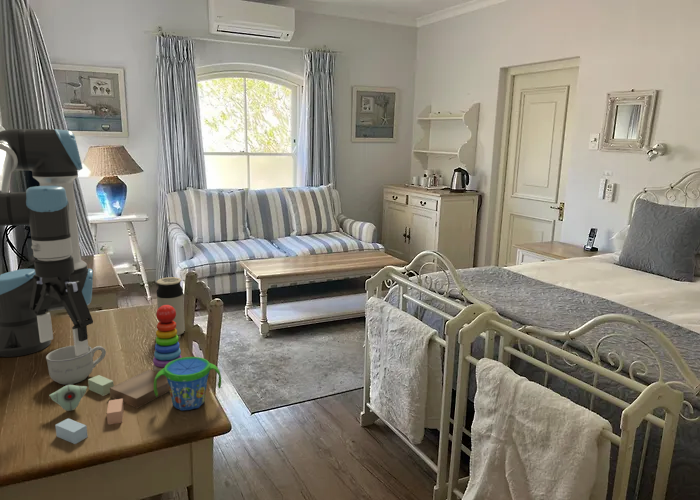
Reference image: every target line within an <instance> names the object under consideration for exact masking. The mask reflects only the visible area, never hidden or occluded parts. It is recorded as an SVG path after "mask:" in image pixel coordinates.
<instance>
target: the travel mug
mask: <svg viewBox="0 0 700 500" xmlns="http://www.w3.org/2000/svg"><path fill="white" fill-rule="evenodd" d="M181 282H182V279H181V278H179V277H176V276H174V277H172V276H169V277H162V278H159V279H158V280H156V284H157V286H158V287H157V290H156V300H157V301H156V302H157V303H156V304H157V310H158V309H159V308H160V307H161V306H163V305H170V306H172V307H173V308H174V309H175V311H176V317H175V319H174V320H173V321H174V322H176V328H175V329H176V330H177V334H176V335H177V336H178V337H179V336H180V335H182V334H184V333H185V332H184V331H186V325H185V309H184V292H183V291H184V290H183V288H182V287H183V286H181ZM159 322H160V321H159V320H158V323H159Z"/></svg>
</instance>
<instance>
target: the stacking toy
mask: <svg viewBox="0 0 700 500" xmlns="http://www.w3.org/2000/svg"><path fill="white" fill-rule="evenodd" d="M155 316H156V318H157V320H158V323H157V325H156V329H157V330H156V331H155V335H156V337H155V342H156V343H155V345H154V352H153V356H154V357H153V359H152V362H153V365H152V370H153V371H156V372H159V371H160V370H162V369H163V368H165V366H166V365H167V364H168V363H169V362H171V361H173V360H176V359H179V358H183V357H182V355H181V354H182V351H181V348H180V342H179V339H180V338H179V335H178V336H177V335H176V334H177V330H176V329H175V328H176V322H174V321H173V320H174V319H175V317H176V311H175V309H174V308H173V307H172V306H170V305H163V306H161V307H160V308H159V309H158V308H157V310H156V315H155ZM159 321H160V322H159Z"/></svg>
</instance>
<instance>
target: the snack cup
mask: <svg viewBox="0 0 700 500" xmlns="http://www.w3.org/2000/svg"><path fill="white" fill-rule="evenodd" d="M211 370H214V371H215V372H216V374H217V375H218V382H217V387H218V389H220V388H221V385H222V375H221V371H220V369H219V368H218V366H216V364H214V363H211V362H210V361H208V359H205V358H203V357H199V356H186V357H182V358H179V359H176V360H173V361H171V362H169V363H168V364H167V365H166V366H165V368H163V369H162V370H160V371H159V372H158V373H157V375H156V377H155V380H154V392H155V395H156V397H157V396H158V392H157V379H158V378H159V377H160V376H161V375H165V376H166V377H167V381H168V386H169V390H170V391H169V393H170V399H171V403H172V406H173V407H174V408H175V409H177V410H180V411H190V410H194V409H199V408H200V407H201V406H202V405H203V404H204V403H205V400H206V394H207V386H208V378H209V374H210V372H211ZM157 398H158V397H157Z"/></svg>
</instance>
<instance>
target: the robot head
mask: <svg viewBox="0 0 700 500" xmlns="http://www.w3.org/2000/svg"><path fill="white" fill-rule="evenodd" d="M87 389H88V386H86V385H77V384H76V385H74V384H67V385H65V386H63V387H61V388H59V389H57V390H56V391H54V392H52V393H50V394H49V398H50V399H51V400H52V401H53V402H54V403H56V404H57V405H59V406H60V407H61V408H62V409H63V410H65V411H67V412H69V411H70V412H71V411H74V410H76V409H77V407H78V406H79V404H80V402H81V399H82V398H83V397H84V396H85V395H86V393H87Z"/></svg>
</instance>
